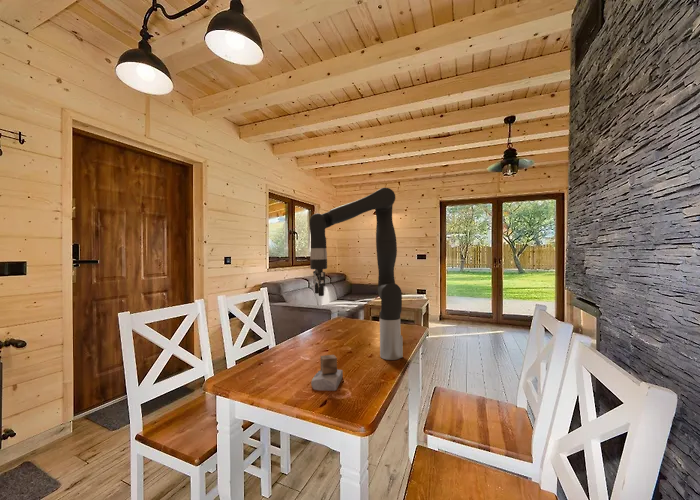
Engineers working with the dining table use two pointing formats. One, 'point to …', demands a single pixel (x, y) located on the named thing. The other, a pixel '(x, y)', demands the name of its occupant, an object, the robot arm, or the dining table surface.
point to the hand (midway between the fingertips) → (319, 294)
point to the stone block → (327, 381)
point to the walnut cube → (328, 364)
